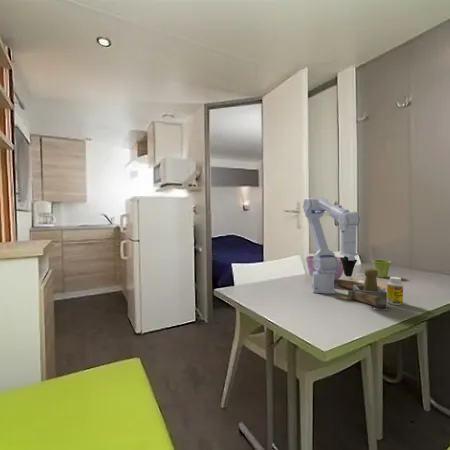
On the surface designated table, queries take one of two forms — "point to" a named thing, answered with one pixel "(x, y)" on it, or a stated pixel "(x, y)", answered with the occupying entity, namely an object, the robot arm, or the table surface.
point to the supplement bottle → (395, 291)
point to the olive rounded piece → (370, 280)
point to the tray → (376, 293)
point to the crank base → (380, 308)
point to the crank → (367, 298)
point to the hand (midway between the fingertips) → (347, 275)
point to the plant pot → (381, 267)
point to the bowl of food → (312, 269)
